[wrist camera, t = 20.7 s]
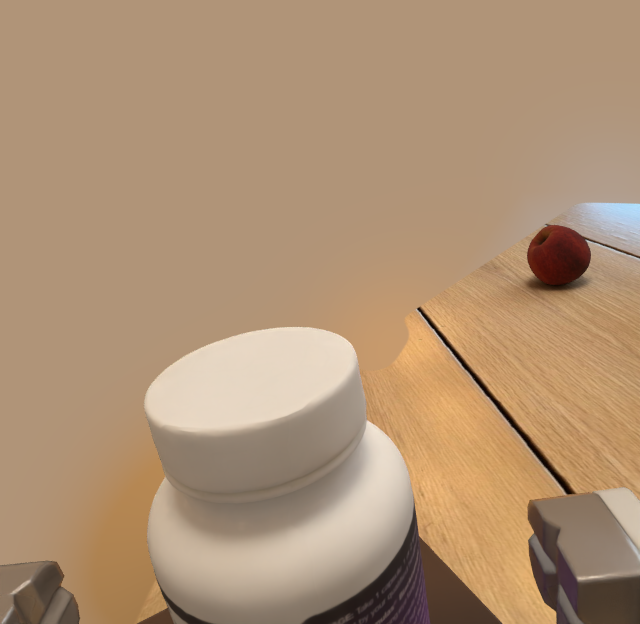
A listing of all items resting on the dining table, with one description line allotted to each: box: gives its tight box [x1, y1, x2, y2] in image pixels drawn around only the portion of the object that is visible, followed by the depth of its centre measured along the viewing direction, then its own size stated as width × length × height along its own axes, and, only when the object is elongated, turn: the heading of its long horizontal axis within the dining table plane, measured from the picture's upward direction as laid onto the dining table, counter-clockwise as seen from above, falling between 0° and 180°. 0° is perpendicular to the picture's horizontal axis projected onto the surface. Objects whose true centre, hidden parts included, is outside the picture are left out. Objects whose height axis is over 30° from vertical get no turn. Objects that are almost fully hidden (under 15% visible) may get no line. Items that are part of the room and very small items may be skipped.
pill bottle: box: [144, 327, 430, 624], centre depth 11 cm, size 5×5×10 cm
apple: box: [527, 225, 591, 285], centre depth 68 cm, size 7×8×8 cm
